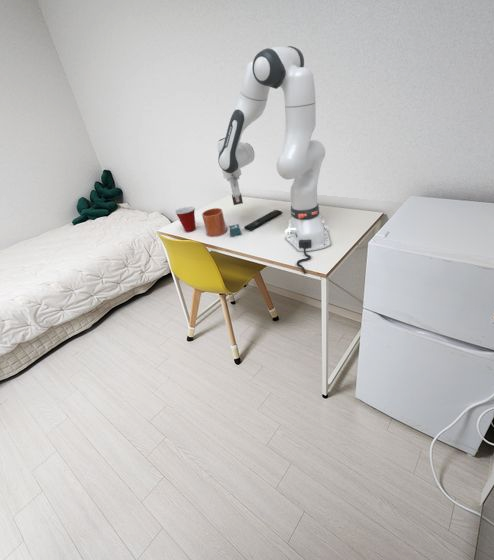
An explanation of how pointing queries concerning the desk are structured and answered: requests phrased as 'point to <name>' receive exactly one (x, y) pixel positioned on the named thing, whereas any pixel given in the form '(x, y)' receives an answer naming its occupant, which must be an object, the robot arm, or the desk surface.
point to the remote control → (262, 220)
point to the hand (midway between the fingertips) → (237, 199)
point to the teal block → (234, 230)
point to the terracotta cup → (214, 222)
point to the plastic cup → (187, 218)
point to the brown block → (235, 200)
